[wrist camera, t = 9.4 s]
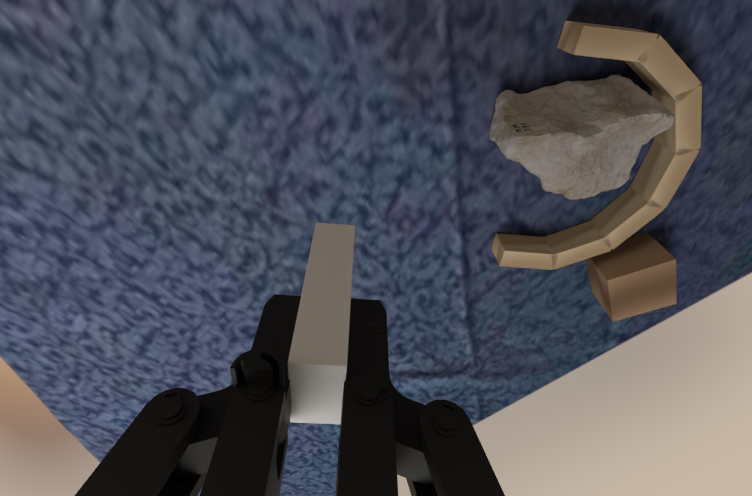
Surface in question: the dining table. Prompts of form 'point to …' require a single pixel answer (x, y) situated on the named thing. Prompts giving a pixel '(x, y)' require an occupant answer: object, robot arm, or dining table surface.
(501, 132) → the stone
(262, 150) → the dining table surface
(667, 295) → the walnut block
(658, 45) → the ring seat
